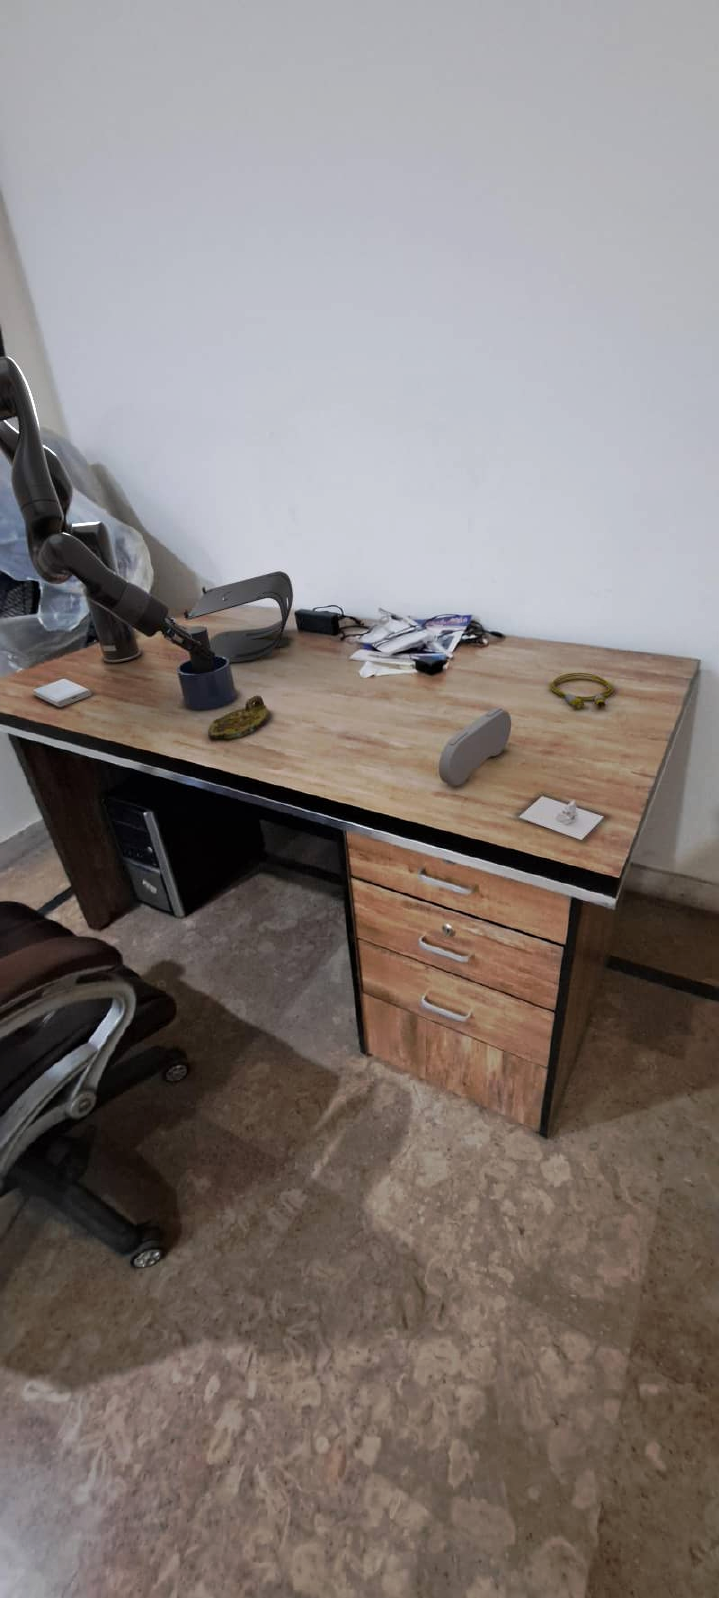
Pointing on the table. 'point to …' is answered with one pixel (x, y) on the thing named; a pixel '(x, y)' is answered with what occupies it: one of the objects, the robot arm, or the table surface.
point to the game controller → (474, 746)
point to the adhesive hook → (561, 817)
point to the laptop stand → (266, 586)
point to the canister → (197, 661)
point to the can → (207, 685)
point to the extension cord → (578, 702)
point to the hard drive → (62, 692)
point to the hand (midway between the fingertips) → (209, 653)
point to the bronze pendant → (240, 720)
